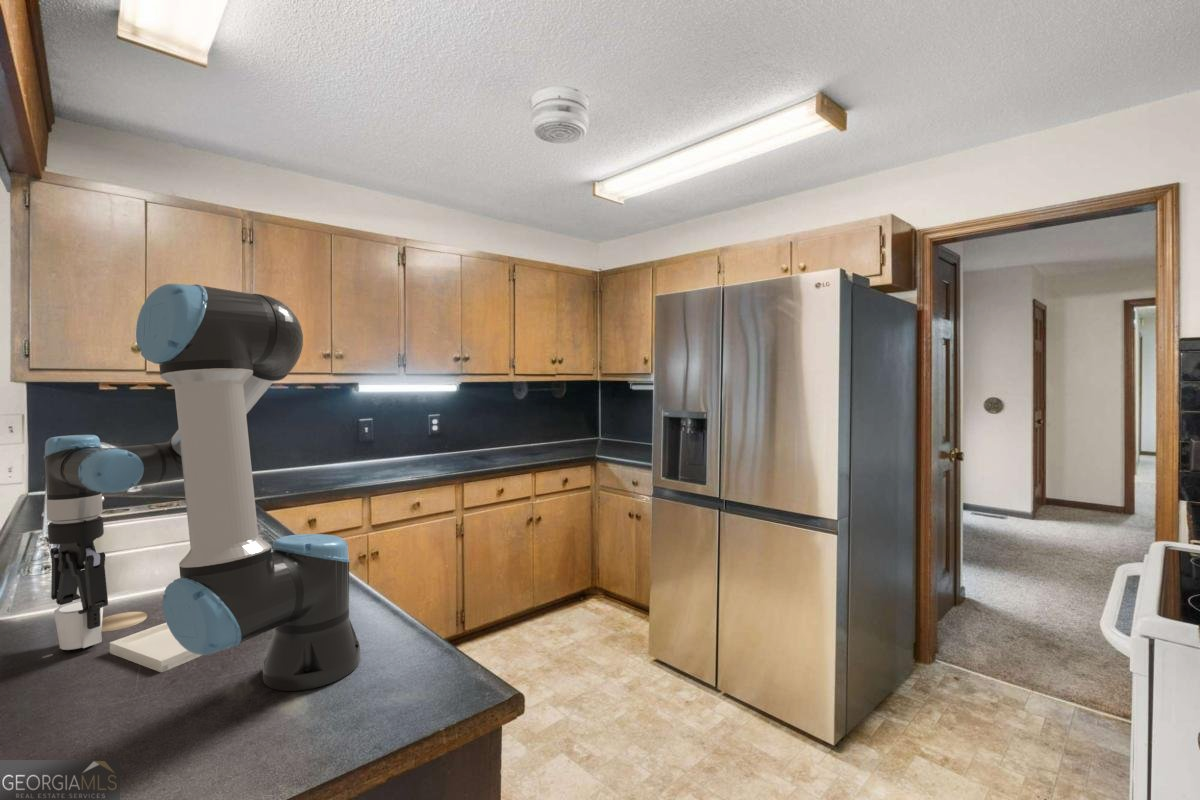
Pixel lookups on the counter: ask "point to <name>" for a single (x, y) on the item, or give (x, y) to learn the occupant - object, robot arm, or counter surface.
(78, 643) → the white cup
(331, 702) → the counter surface
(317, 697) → the counter surface
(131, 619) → the cork coaster
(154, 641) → the tray
